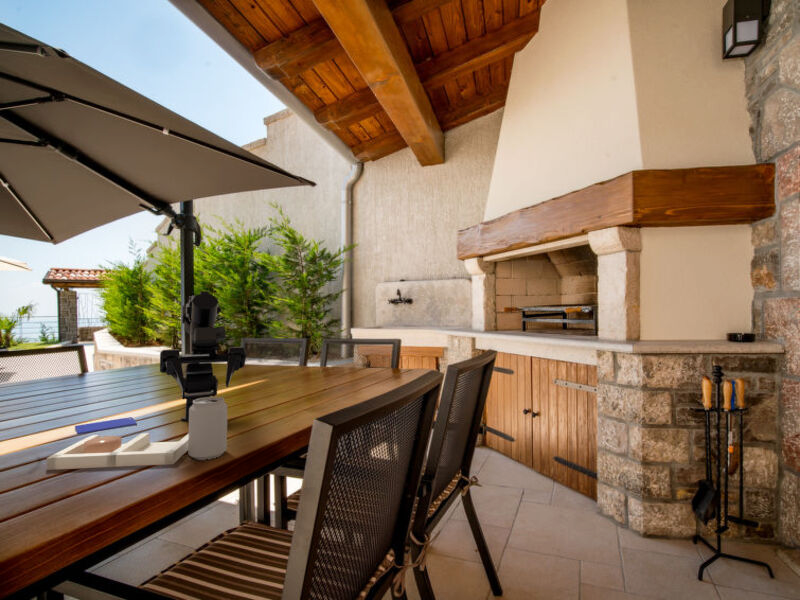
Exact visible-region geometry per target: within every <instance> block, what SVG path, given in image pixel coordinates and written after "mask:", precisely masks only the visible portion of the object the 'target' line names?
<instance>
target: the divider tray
mask: <svg viewBox="0 0 800 600" xmlns="http://www.w3.org/2000/svg"><path fill="white" fill-rule="evenodd" d="M150 435H151V434H150V432H142V433H140V434H138V435H137V436H135V437H134V438H132V439H131V440H129V441H128V442H126V443H121V447H120V448H118V449H116V450H115V451H113V452H111V453H87V454H84V442H86V441H88V440H91V439H94V438H98V437H101V436H100V434H92V435H89V436H87V437H86V438H83V439H81V440H80V441H78V442H75V443H73V444H72V445H69V446H67V447H66V448H64V449H62V450H60V451H58V452H56V453H53V454H52V455H50V456H47V458H46V471H51V470H70V469H71V470H73V469H74V470H75V469H92V468H93V469H95V468H115V467H117V468H119V467H137V466H159V465H174V464H175V463H176V462H177V461H178V460H179V459H180V458H182V457H183V456H184V454H186V453H188V452H187V451H188V442H189V432H188V433H187V434H186V435H185V436H184V437H182V438H181V439H180V440H178V441H159V442H150Z"/></svg>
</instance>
